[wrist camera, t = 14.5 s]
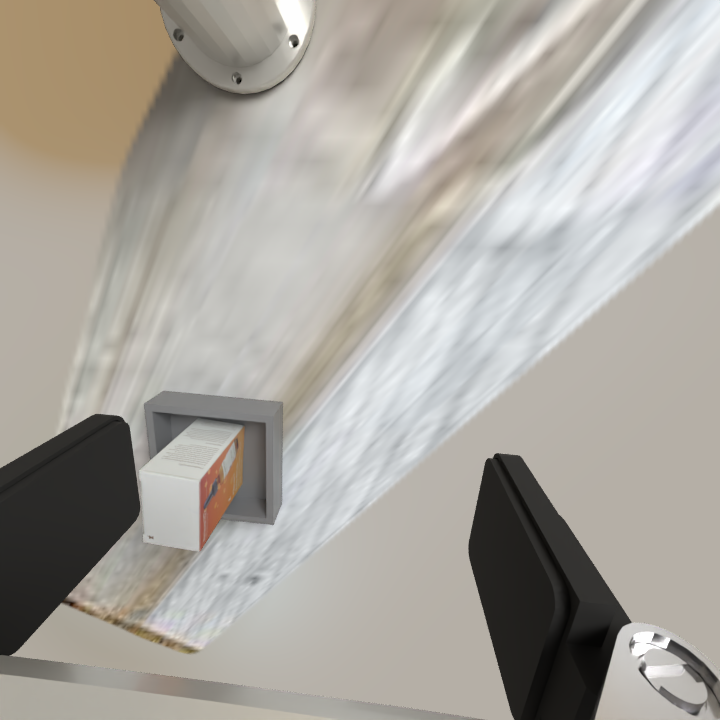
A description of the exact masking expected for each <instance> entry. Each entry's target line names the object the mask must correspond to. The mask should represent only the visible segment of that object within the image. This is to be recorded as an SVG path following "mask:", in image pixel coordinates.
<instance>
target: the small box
mask: <svg viewBox="0 0 720 720" xmlns="http://www.w3.org/2000/svg"><path fill="white" fill-rule="evenodd" d="M244 431H245V426H244V425H239V424H233V423H227V422H220V421H214V420H207V419H201V418H198V419H196V420H195V421H194V422H193V423H192V424H191V425H190V426H189V427H187V428H186V429H185V430H184V431H183V432H182V433H181V434H179V435H178V436H177V437H176V438H175V439H174V440H173V441H171V442H170V443H169V444H168V445H167V446H166V447H165V448H163V449H162V450H161V451H160V452H159V453H158V454H157V455H156V456H155V457H153V458H152V459H151V460H150V461H149V462H148V463H147V464H146V465H144V466H143V467H142V468H141V469H140V470H139V480H140V489H141V505H142V523H143V542H144V543H150V544H155V545H161V546H167V547H173V548H179V549H185V550H191V551H198V552H199V551H201V549H202V548H203V546H204V544H205V543H206V541H207V540H208V538H209V536H210V535H211V533H212V532H213V530H214V528H215V527H216V525H217V524H218V522H219V520H220V519H221V517H222V516H223V514H224V512H225V511H226V509H227V508H228V506H229V504H230V503H231V501H232V500H233V498H234V496H235V495H236V493H237V492H238V490H239V488H240V487H241V485H242V483H243V451H244Z"/></svg>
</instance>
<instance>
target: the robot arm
mask: <svg viewBox="0 0 720 720" xmlns="http://www.w3.org/2000/svg"><path fill="white" fill-rule="evenodd" d="M154 1H155V2H156V3H157V4H158V5H159V6H160V10H161V14H162V17H163V21H164V24H165V28H166V30H167V32H168V34H169V37H170V38H171V41H172V43H173V45H174V47H175V48H176V49H177V51H178V52H179V54H180V55H181V57H182V58H183V60H184V61H185V62H186V63H187V64H188V65H189V66H190V67H191V68H192V69H193V70H194V71H195V72H196V73H197V74H198V75H199V76H201V77H202V78H203V79H204V80H205V81H207V82H209V83H210V84H212V85H214V86H215V87H217V88H220V89H223V90H225V91H228V92H232V93H240V94H249V93H258V92H261V91H264V90H266V89H269V88H272V87H273V86H275V85H276V84H278V83H279V82H281V81H283V80H284V79H285V78H286V77H287V76H288V75H289V74H290V73H291V72H292V71H293V70H294V69H295V67H296V66H297V64H298V63H299V61H300V60H301V58H302V57H303V55H304V53H305V50H306V48H307V46H308V44H309V42H310V38H311V34H312V30H313V27H314V20H315V10H316V0H154ZM182 39H183V40H182ZM295 44H298V46H297V47H295V48H293V47H294V45H295ZM239 80H242V82H241V83H240V84H238V82H239ZM139 512H140V501H139V493H138V486H137V478H136V471H135V464H134V456H133V449H132V441H131V434H130V428H129V425H128V424H127V423H126V422H125V421H124V420H123V418H122V417H120V416H114V415H103V414H95V415H92V416H90V417H89V418H87V419H85V420H83V421H82V422H80V423H78V424H77V425H75V426H73V427H71V428H70V429H68V430H66V431H64V432H63V433H61V434H59V435H57V436H56V437H54V438H52V439H50V440H49V441H47V442H45V443H43V444H42V445H40V446H38V447H37V448H35V449H33V450H31V451H30V452H28V453H26V454H24V455H23V456H21V457H19V458H18V459H16V460H14V461H12V462H10V463H9V464H7V465H6V466H3V467H2V468H0V720H483V719H477V718H470V717H464V716H458V715H451V714H445V713H438V712H432V711H425V710H419V709H413V708H406V707H398V706H391V705H383V704H376V703H369V702H361V701H354V700H347V699H339V698H332V697H324V696H316V695H310V694H302V693H295V692H287V691H280V690H273V689H265V688H257V687H250V686H242V685H235V684H227V683H219V682H212V681H204V680H196V679H188V678H181V677H173V676H165V675H157V674H150V673H142V672H134V671H126V670H118V669H110V668H102V667H95V666H87V665H78V664H71V663H63V662H54V661H46V660H38V659H30V658H21V657H13V656H10V655H12V654H13V653H15V652H16V651H17V650H18V649H19V648H20V647H21V646H22V645H23V644H24V643H25V642H26V641H27V640H28V639H29V637H30V636H31V635H32V634H33V633H34V632H35V631H36V630H37V629H38V627H40V625H41V624H42V623H43V622H44V621H45V620H46V619H47V618H48V617H49V616H50V614H51V613H52V612H53V611H54V610H55V609H56V608H57V607H58V606H59V605H60V603H61V602H62V601H63V600H64V599H65V598H66V597H67V596H68V595H69V594H70V592H71V591H72V590H73V589H74V588H75V587H76V586H77V585H78V584H79V583H80V582H81V580H82V579H83V578H84V577H85V576H86V575H87V574H88V573H89V572H90V571H91V569H92V568H93V567H94V566H95V565H96V564H97V563H98V562H99V561H100V560H101V558H102V557H103V556H104V555H105V554H106V553H107V552H108V551H109V550H110V549H111V547H112V546H113V545H114V544H115V543H116V542H117V541H118V540H119V539H120V538H121V536H122V535H123V534H124V533H125V532H126V531H127V530H128V529H129V528H130V527H131V525H132V524H133V523H134V522H135V521H136V519H137V517H138V515H139ZM469 558H470V562H471V566H472V570H473V574H474V577H475V581H476V585H477V588H478V592H479V596H480V599H481V603H482V607H483V610H484V614H485V617H486V621H487V625H488V629H489V632H490V636H491V640H492V643H493V647H494V651H495V655H496V658H497V662H498V666H499V669H500V673H501V677H502V680H503V684H504V688H505V691H506V695H507V699H508V702H509V706H510V710H511V713H512V716H513V718H514V720H720V669H719V668H718V667H717V666H716V665H715V664H714V663H713V662H712V661H711V660H710V659H709V658H707V657H706V656H705V655H704V654H703V653H702V652H700V650H698V649H697V648H695V647H694V646H692V645H691V644H690V643H688V642H687V641H685V640H684V639H682V638H681V637H679V636H677V635H675V634H673V633H671V632H669V631H667V630H665V629H663V628H661V627H657V626H654V625H650V624H647V623H632V622H631V621H630V619H629V617H628V616H627V615H626V613H625V611H624V610H623V608H622V607H621V605H620V604H619V602H618V601H617V599H616V598H615V596H614V595H613V593H612V592H611V590H610V589H609V587H608V586H607V584H606V583H605V581H604V580H603V578H602V577H601V575H600V573H599V572H598V570H597V569H596V567H595V566H594V564H593V563H592V561H591V560H590V558H589V557H588V555H587V554H586V552H585V551H584V549H583V548H582V546H581V545H580V543H579V541H578V540H577V539H576V537H575V535H574V534H573V532H572V531H571V529H570V528H569V526H568V525H567V523H566V522H565V520H564V519H563V518H562V517H561V516H560V515H559V514H558V513H557V511H556V510H555V508H554V507H553V505H552V504H551V502H550V500H549V499H548V497H547V496H546V494H545V493H544V491H543V490H542V488H541V487H540V485H539V484H538V482H537V481H536V479H535V478H534V476H533V474H532V473H531V471H530V470H529V468H528V467H527V465H526V464H525V462H524V461H523V459H522V458H521V457H520V456H518V455H509V454H499V453H497V454H495V455H494V457H493V459H490V458H488V459H487V460H486V462H485V467H484V471H483V476H482V481H481V486H480V491H479V496H478V501H477V506H476V510H475V515H474V520H473V525H472V530H471V535H470V539H469Z"/></svg>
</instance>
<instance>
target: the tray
mask: <svg viewBox="0 0 720 720" xmlns="http://www.w3.org/2000/svg"><path fill="white" fill-rule="evenodd" d="M144 409H145V417H146V426H147V434H148V443H149V451H150V460H151V459H152V458H153V457H155V456H156V455H157V454H158V453H159V452H160V451H161V450H162V449H163V448H165V447H166V446H167V445H168V444H169V443H170V442H171V441H173V440H174V439H175V438H176V437H177V436H178V435H179V434H181V433H182V432H183V431H184V430H185V429H186V428H187V427H189V426H190V425H191V424H192V423H193V422H194V421H195V420H196V419H198V418H201V419H207V420H214V421H220V422H227V423H233V424H239V425H244V426H245V431H244V451H243V483H242V485H241V487H240V488H239V490H238V492H237V493H236V495H235V496H234V498H233V500H232V501H231V503H230V504H229V506H228V508H227V509H226V511H225V512H224V514H223V516H222V517H221V519H225V520H234V521H243V522H252V523H261V524H270V525H274V522H275V520H276V517H277V515H278V512H279V510H280V507H281V505H282V433H283V402H274V401H264V400H253V399H243V398H232V397H222V396H211V395H201V394H190V393H180V392H169V391H163V392H161V393H160V394H158V395H157V396H155V397H154V398H152V399H151V400H149V401H147V402H146V403H144Z"/></svg>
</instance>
